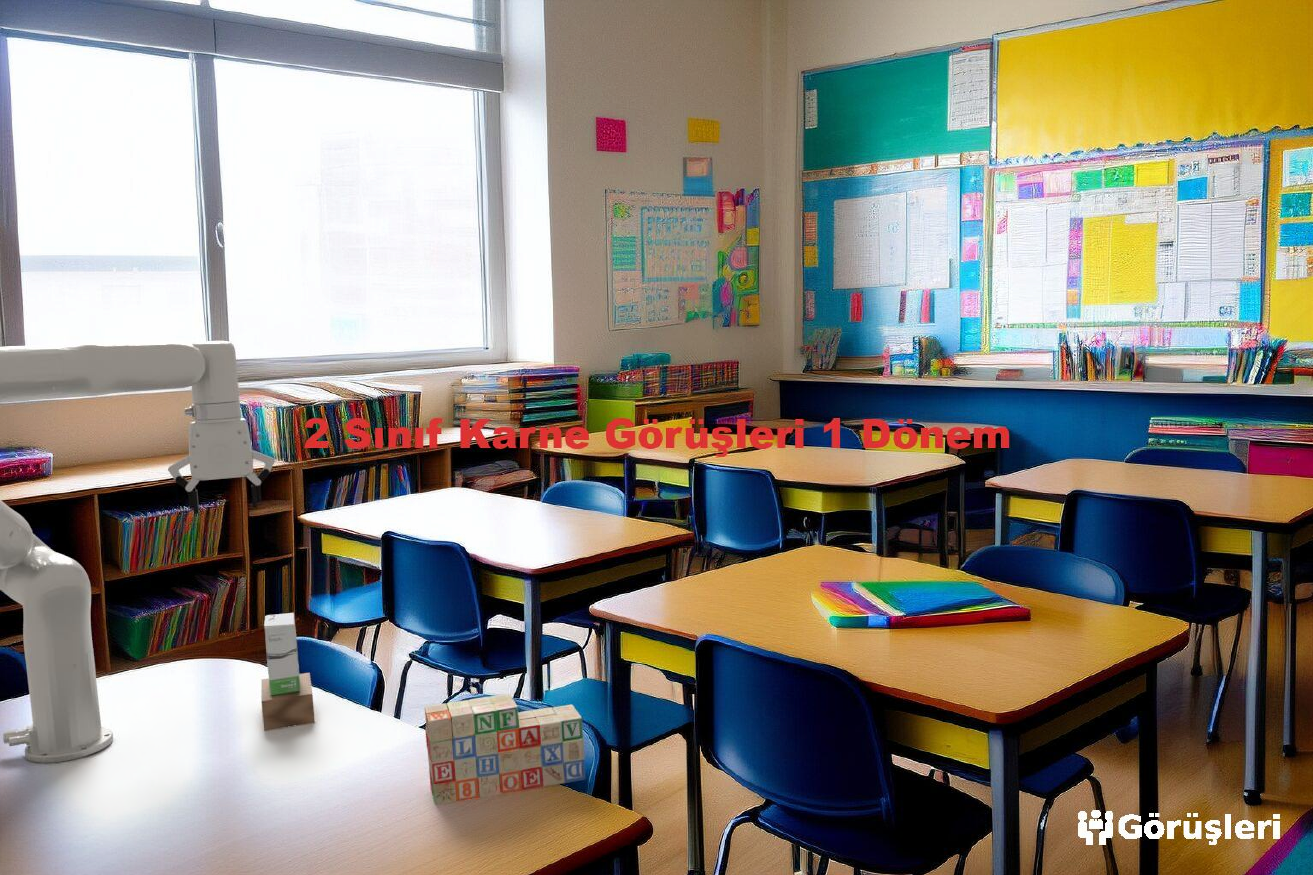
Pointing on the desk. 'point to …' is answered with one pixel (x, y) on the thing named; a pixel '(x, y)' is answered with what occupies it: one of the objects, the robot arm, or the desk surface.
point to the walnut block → (287, 705)
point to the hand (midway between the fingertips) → (226, 510)
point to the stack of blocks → (500, 748)
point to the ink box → (282, 653)
